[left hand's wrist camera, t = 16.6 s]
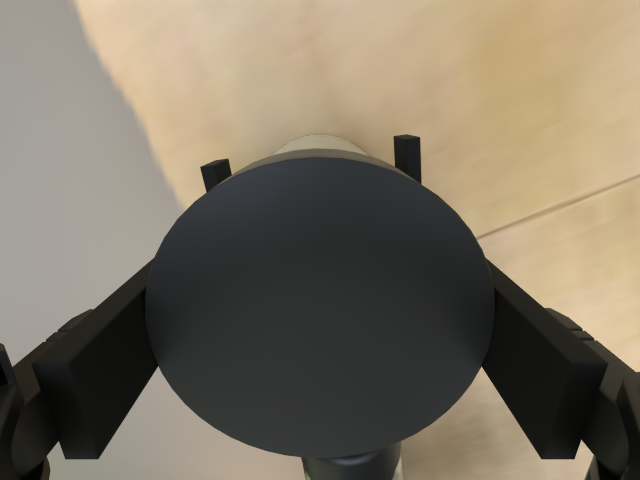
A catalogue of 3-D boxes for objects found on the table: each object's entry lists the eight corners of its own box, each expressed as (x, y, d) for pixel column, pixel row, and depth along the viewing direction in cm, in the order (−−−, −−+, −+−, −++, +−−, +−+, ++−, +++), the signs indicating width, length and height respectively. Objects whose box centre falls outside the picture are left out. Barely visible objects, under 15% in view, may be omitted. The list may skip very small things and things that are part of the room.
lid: (345, 439, 15) (350, 498, 12) (128, 320, 13) (86, 365, 10) (523, 265, 12) (571, 300, 10) (280, 75, 10) (269, 63, 8)
